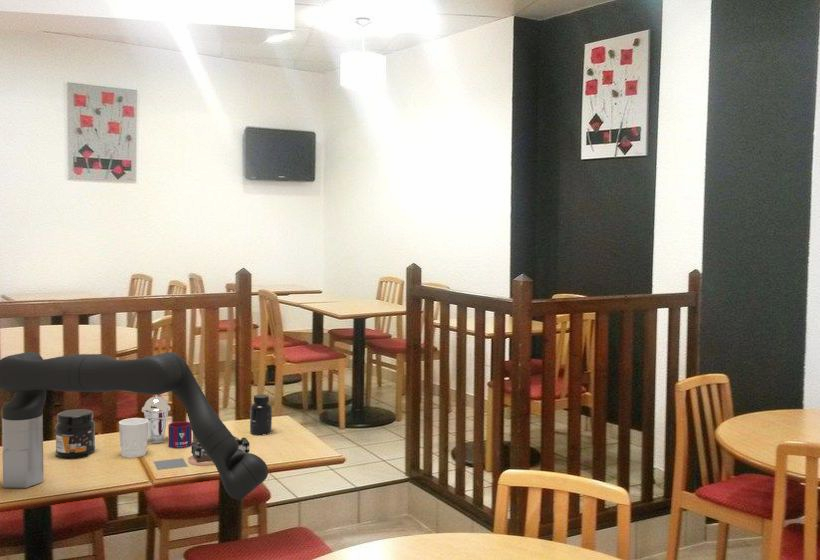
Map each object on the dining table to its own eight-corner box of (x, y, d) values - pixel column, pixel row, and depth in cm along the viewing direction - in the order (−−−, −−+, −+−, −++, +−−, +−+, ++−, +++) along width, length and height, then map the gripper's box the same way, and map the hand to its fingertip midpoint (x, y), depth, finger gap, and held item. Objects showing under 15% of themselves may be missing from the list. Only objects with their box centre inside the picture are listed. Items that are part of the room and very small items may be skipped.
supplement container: (51, 460, 217) (50, 418, 216) (60, 449, 227) (59, 409, 227) (91, 458, 219) (91, 416, 218) (98, 447, 230) (98, 408, 229)
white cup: (138, 460, 218) (138, 425, 217) (113, 458, 220) (113, 423, 219) (153, 452, 226) (153, 418, 225) (129, 450, 227) (128, 417, 227)
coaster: (187, 467, 212) (187, 466, 212) (157, 471, 209) (157, 469, 209) (182, 459, 220) (182, 458, 220) (153, 462, 216) (153, 461, 216)
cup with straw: (136, 443, 234) (135, 378, 233) (152, 436, 243) (151, 373, 242) (161, 446, 232) (161, 380, 231) (176, 438, 241) (176, 374, 240)
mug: (170, 450, 228) (170, 428, 227) (165, 442, 237) (165, 420, 237) (193, 448, 231) (193, 425, 230) (188, 439, 240) (187, 418, 239)
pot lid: (220, 467, 213) (220, 460, 213) (183, 466, 213) (183, 459, 213) (228, 456, 223) (228, 449, 223) (193, 456, 223) (193, 449, 223)
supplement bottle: (246, 434, 246) (246, 397, 246) (254, 429, 253) (254, 393, 252) (267, 436, 245) (267, 398, 245) (274, 430, 252) (274, 394, 251)
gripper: (257, 439, 196) (241, 424, 211) (199, 445, 190) (187, 429, 204) (256, 468, 197) (241, 451, 211) (199, 475, 190) (187, 457, 205)
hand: (214, 440), depth 208 cm, fingers open, 8 cm apart
